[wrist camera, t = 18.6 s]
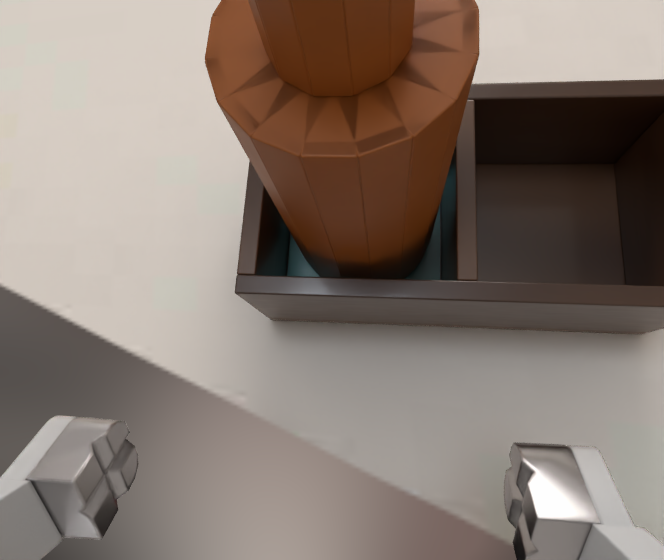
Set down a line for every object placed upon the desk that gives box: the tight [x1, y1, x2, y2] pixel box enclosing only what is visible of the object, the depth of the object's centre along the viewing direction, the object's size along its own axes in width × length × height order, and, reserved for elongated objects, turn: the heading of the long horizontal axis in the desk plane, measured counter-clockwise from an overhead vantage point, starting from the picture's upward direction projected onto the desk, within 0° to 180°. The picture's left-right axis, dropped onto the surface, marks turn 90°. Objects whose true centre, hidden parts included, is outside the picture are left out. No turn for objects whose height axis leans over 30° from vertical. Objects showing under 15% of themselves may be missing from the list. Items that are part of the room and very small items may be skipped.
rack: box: [235, 79, 664, 334], centre depth 19 cm, size 8×16×6 cm, turn 87°
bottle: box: [205, 0, 479, 279], centre depth 14 cm, size 6×6×16 cm
